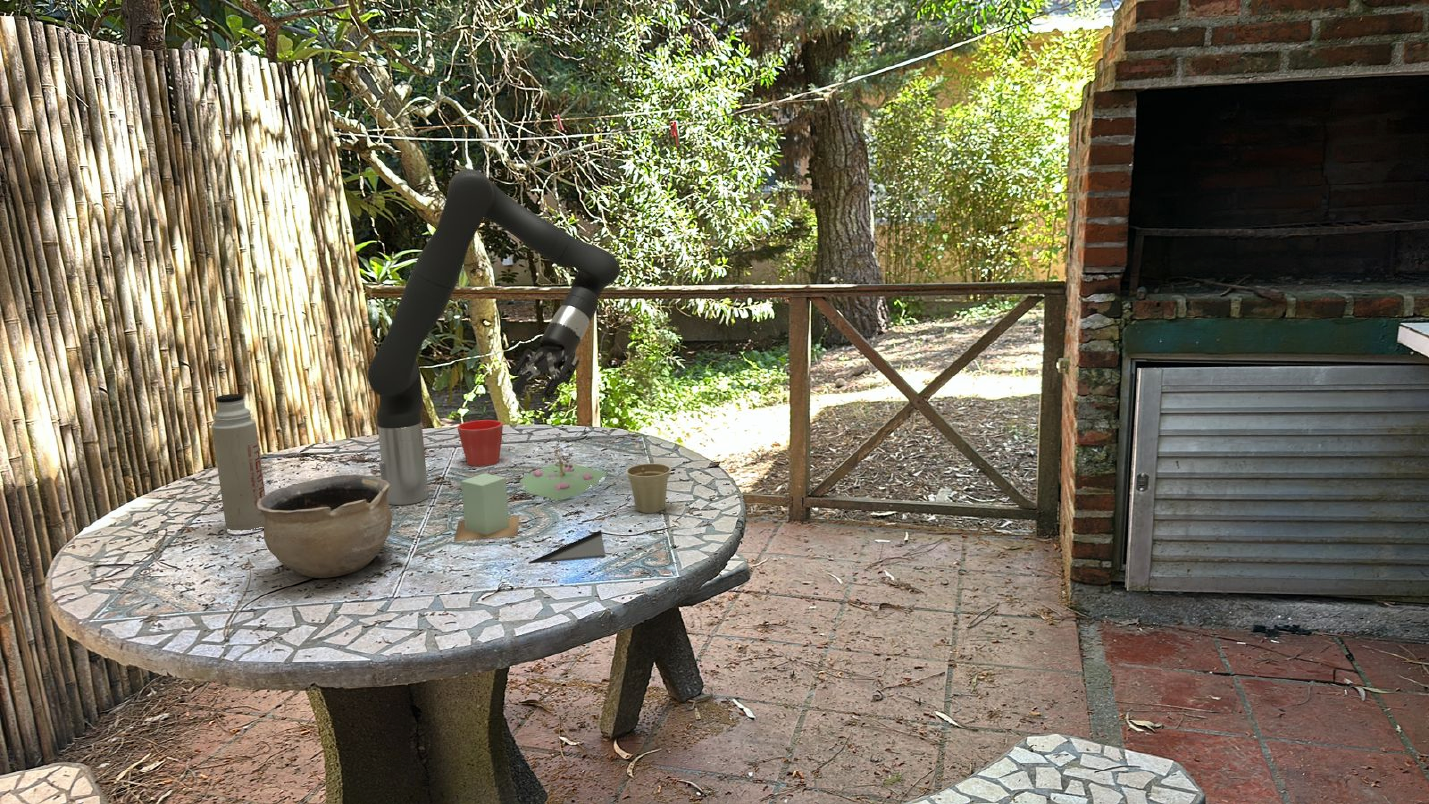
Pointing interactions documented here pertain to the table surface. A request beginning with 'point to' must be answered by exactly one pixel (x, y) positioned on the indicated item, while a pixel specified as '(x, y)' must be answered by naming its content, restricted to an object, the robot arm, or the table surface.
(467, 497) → the sage green tall block
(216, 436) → the thermos bottle
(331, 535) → the ceramic bowl
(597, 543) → the mat
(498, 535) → the peg stand
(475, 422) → the flower pot
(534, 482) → the plant
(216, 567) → the table surface
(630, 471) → the flower pot
